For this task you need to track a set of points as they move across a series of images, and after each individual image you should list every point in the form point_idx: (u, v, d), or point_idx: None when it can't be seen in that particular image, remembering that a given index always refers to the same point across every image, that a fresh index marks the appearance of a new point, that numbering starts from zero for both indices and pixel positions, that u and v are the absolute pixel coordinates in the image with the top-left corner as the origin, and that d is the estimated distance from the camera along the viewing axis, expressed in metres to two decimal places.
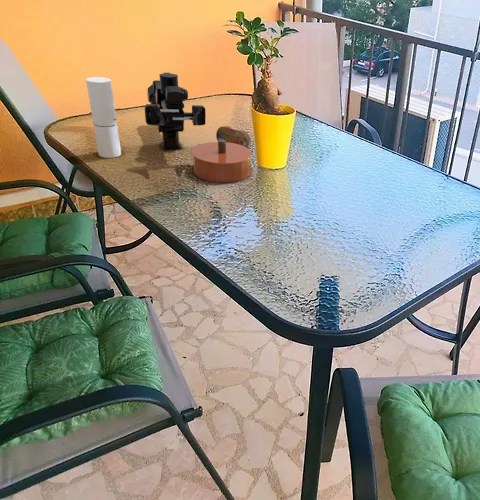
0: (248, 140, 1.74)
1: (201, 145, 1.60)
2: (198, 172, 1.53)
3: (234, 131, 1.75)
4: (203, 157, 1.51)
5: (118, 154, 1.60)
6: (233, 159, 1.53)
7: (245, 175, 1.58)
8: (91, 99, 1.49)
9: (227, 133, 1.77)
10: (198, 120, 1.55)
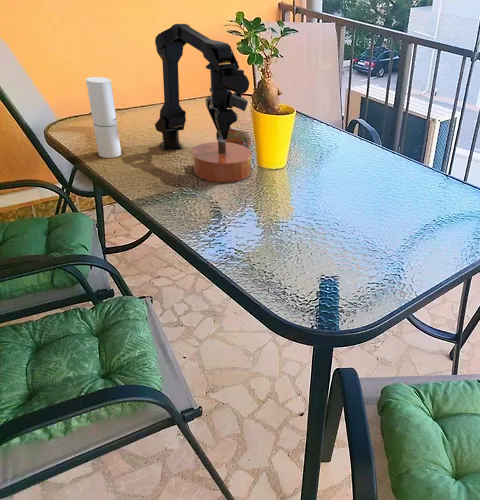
0: (248, 140, 1.74)
1: (201, 145, 1.60)
2: (198, 172, 1.53)
3: (234, 131, 1.75)
4: (203, 157, 1.51)
5: (118, 154, 1.60)
6: (233, 159, 1.53)
7: (245, 175, 1.58)
8: (91, 99, 1.49)
9: None
10: None
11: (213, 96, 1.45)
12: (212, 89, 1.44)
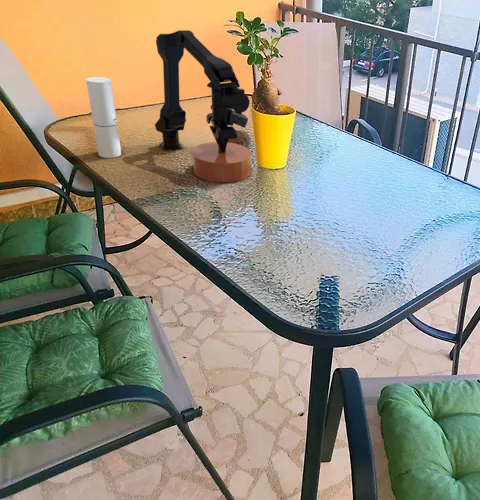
0: (248, 140, 1.74)
1: (201, 145, 1.60)
2: (198, 172, 1.53)
3: None
4: (203, 157, 1.51)
5: (118, 154, 1.60)
6: (233, 159, 1.53)
7: (245, 175, 1.58)
8: (91, 99, 1.49)
9: None
10: None
11: (214, 114, 1.48)
12: (213, 107, 1.47)
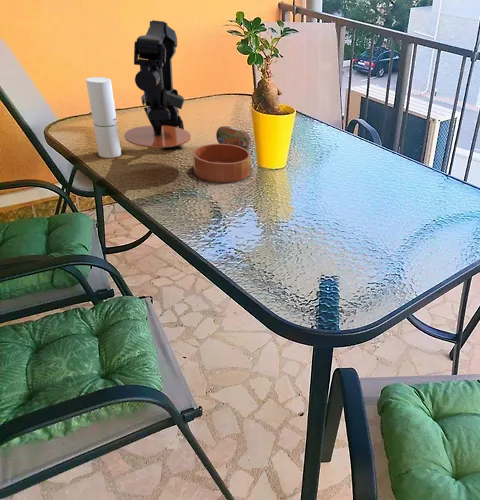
0: (248, 140, 1.74)
1: (137, 128, 1.51)
2: (198, 172, 1.53)
3: (234, 131, 1.75)
4: (135, 140, 1.42)
5: (118, 154, 1.60)
6: (169, 142, 1.44)
7: (245, 175, 1.58)
8: (91, 99, 1.49)
9: (227, 133, 1.77)
10: None
11: (146, 94, 1.39)
12: None
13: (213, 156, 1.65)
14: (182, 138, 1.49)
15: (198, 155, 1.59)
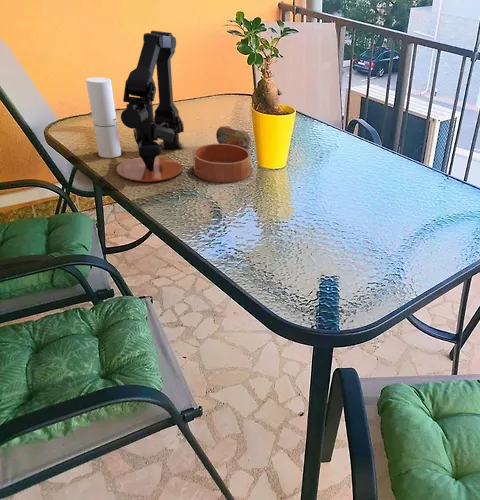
0: (248, 140, 1.74)
1: (129, 160, 1.56)
2: (198, 172, 1.53)
3: (234, 131, 1.75)
4: (127, 174, 1.47)
5: (118, 154, 1.60)
6: (159, 175, 1.49)
7: (245, 175, 1.58)
8: (91, 99, 1.49)
9: (227, 133, 1.77)
10: None
11: (137, 129, 1.44)
12: None
13: (213, 156, 1.65)
14: (173, 171, 1.53)
15: (198, 155, 1.59)
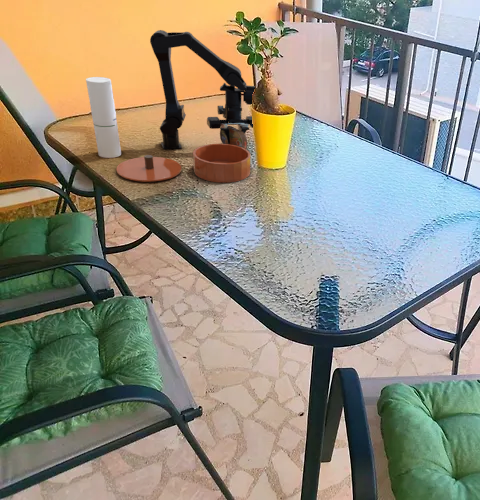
0: (244, 141, 1.72)
1: (129, 160, 1.56)
2: (198, 172, 1.53)
3: (233, 131, 1.74)
4: (127, 174, 1.47)
5: (118, 154, 1.60)
6: (159, 175, 1.49)
7: (245, 175, 1.58)
8: (91, 99, 1.49)
9: None
10: None
11: (239, 112, 1.70)
12: (238, 107, 1.69)
13: (213, 156, 1.65)
14: (173, 171, 1.53)
15: (198, 155, 1.59)
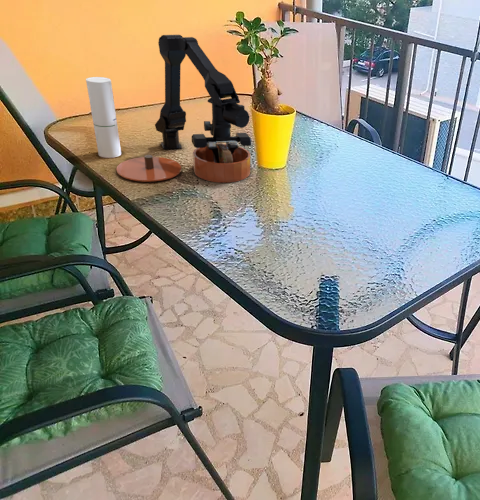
0: (228, 162, 1.52)
1: (129, 160, 1.56)
2: (198, 172, 1.53)
3: (221, 150, 1.56)
4: (127, 174, 1.47)
5: (118, 154, 1.60)
6: (159, 175, 1.49)
7: (245, 175, 1.58)
8: (91, 99, 1.49)
9: (218, 151, 1.59)
10: None
11: (227, 129, 1.52)
12: (226, 123, 1.50)
13: None
14: (173, 171, 1.53)
15: (198, 155, 1.59)
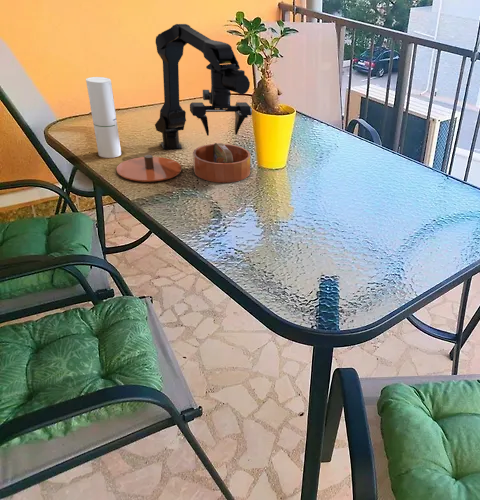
0: (228, 162, 1.52)
1: (129, 160, 1.56)
2: (198, 172, 1.53)
3: (221, 150, 1.56)
4: (127, 174, 1.47)
5: (118, 154, 1.60)
6: (159, 175, 1.49)
7: (245, 175, 1.58)
8: (91, 99, 1.49)
9: (218, 151, 1.59)
10: None
11: (227, 97, 1.46)
12: (225, 91, 1.45)
13: None
14: (173, 171, 1.53)
15: (198, 155, 1.59)
